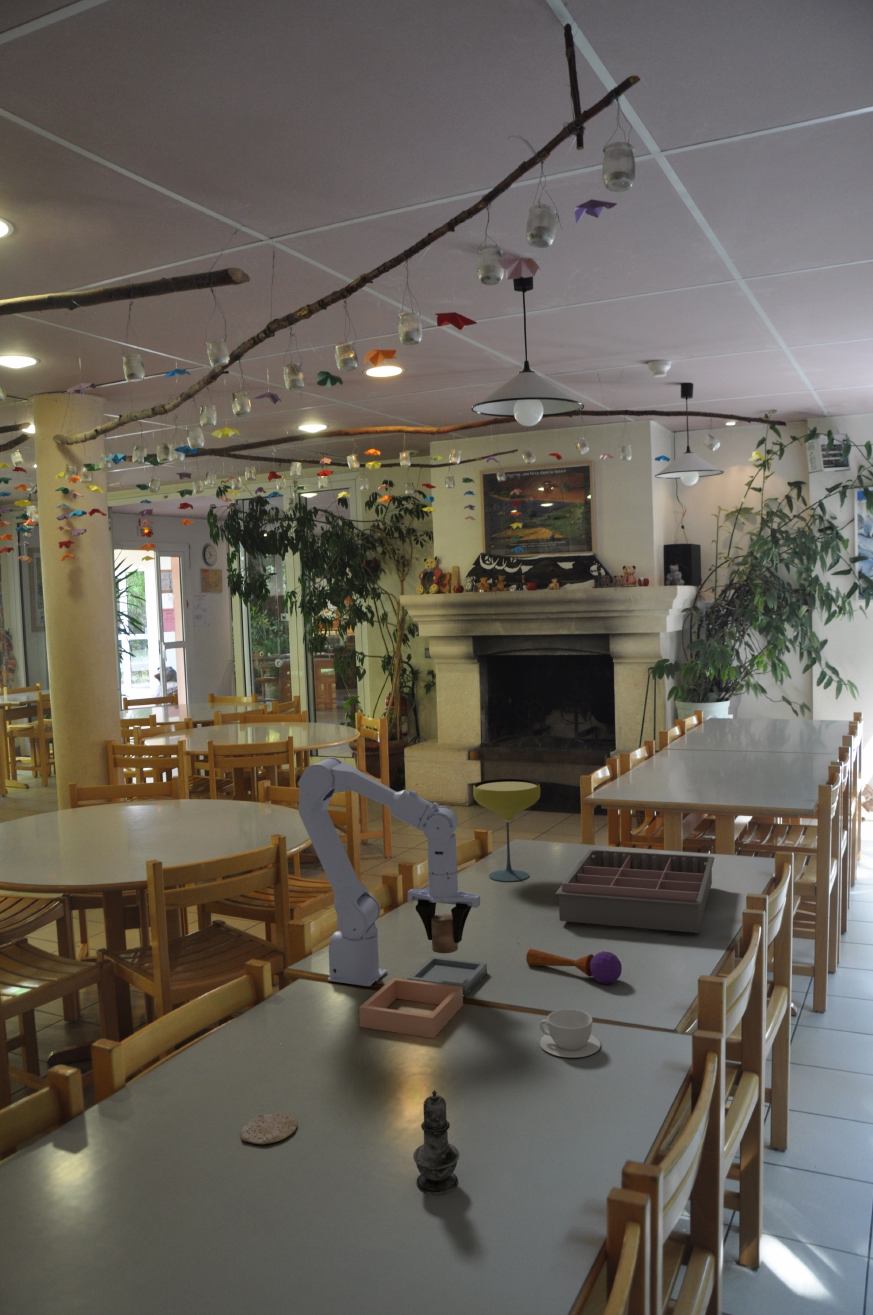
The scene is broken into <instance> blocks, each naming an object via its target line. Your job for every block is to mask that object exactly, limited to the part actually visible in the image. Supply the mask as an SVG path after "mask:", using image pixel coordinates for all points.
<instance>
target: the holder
mask: <svg viewBox="0 0 873 1315" xmlns="http://www.w3.org/2000/svg"><path fill="white" fill-rule="evenodd" d="M463 998H464V996H463V989H462V987H460V986H453V985H445V984H438V983H430V982H423V981H415V980H407V978H399V977H392V978H391V979H390V980H389V981H387V982H386V983H385V984H384V985H383V986H381V987H380V989H378V990H377V991H376V992H375V993H374V994H373V995H372V996H371V997H369V998H368V999H367V1000H365V1002H364V1003H362V1004H361V1005H360V1006H359V1008H358V1011H359V1013H358V1014H359V1027H360V1028H365V1029H373V1030H376V1031H377V1030H378V1031H384V1032H390V1033H396V1032H397V1034H403V1035H404V1034H405V1035H410V1036H416V1037H422V1038H427V1039H428V1038H430V1039H434V1038H435V1037H437V1035H438V1034H439V1033H440V1032H441V1031H442V1029H444V1028H445V1026H446V1025H447V1024H448V1021H449V1020H450V1021H451V1020H452V1018H453V1017H454V1016H456V1014H457V1013H458V1012H459V1011H460V1009H462V1007H463V1006H464V1001H463V1000H464V999H463ZM395 1000H404V1001H411V1002H420V1003H425V1004H426V1003H427V1004H431V1005H432V1004H433V1005H438V1004H439V1005H438V1006H436V1008H435V1009H434V1010H433V1011H432V1012H431V1013H430V1014H426V1013H419V1012H413V1011H412V1012H410V1011H405V1010H399V1009H393V1008H388V1007H389V1006H390V1005H391V1004H392V1003H393V1002H394V1001H395ZM461 1006H462V1007H461ZM458 1010H459V1011H458ZM457 1011H458V1012H457ZM456 1012H457V1013H456ZM455 1013H456V1014H455ZM450 1021H449V1022H450ZM440 1030H441V1031H440Z"/></svg>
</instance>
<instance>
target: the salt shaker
mask: <svg viewBox="0 0 873 1315" xmlns="http://www.w3.org/2000/svg"><path fill="white" fill-rule="evenodd" d="M450 1126H451V1124H450V1122H449V1121H448V1120H447V1103H446V1099H445V1098H444V1097H442V1096H440V1095H439V1094H438V1092H437V1091H436V1089H434V1090H432V1092H431V1095H428V1097H426V1098H425V1099H424V1101H423V1122H422V1123H421V1126H420V1128H421V1130H422V1131H423V1144H421V1145H419V1146H418V1147H417V1148H416V1149H415V1150H414V1152H413V1156H412V1158H413V1161H414V1162H415V1166H416V1168H417V1170H418V1172H419V1175H418V1176H417V1179H416V1183H415V1184H416V1187H417V1188H418V1190H420V1191H421V1192H422V1193H425V1194H427V1195H432V1196H439V1195H441V1196H442V1195H446V1194H448V1193H450V1192H452V1191H454V1190H455V1189H457V1187H458V1184H459V1179H458V1177H457V1175H456V1173H454V1172H455V1170H456V1168H457V1164H458V1161H459V1159H460V1152H459V1149H458V1148H457V1147H456V1146H454V1145H453V1144H451V1143H449V1139H448V1138H449V1136H448V1130H449V1129H450Z"/></svg>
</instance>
